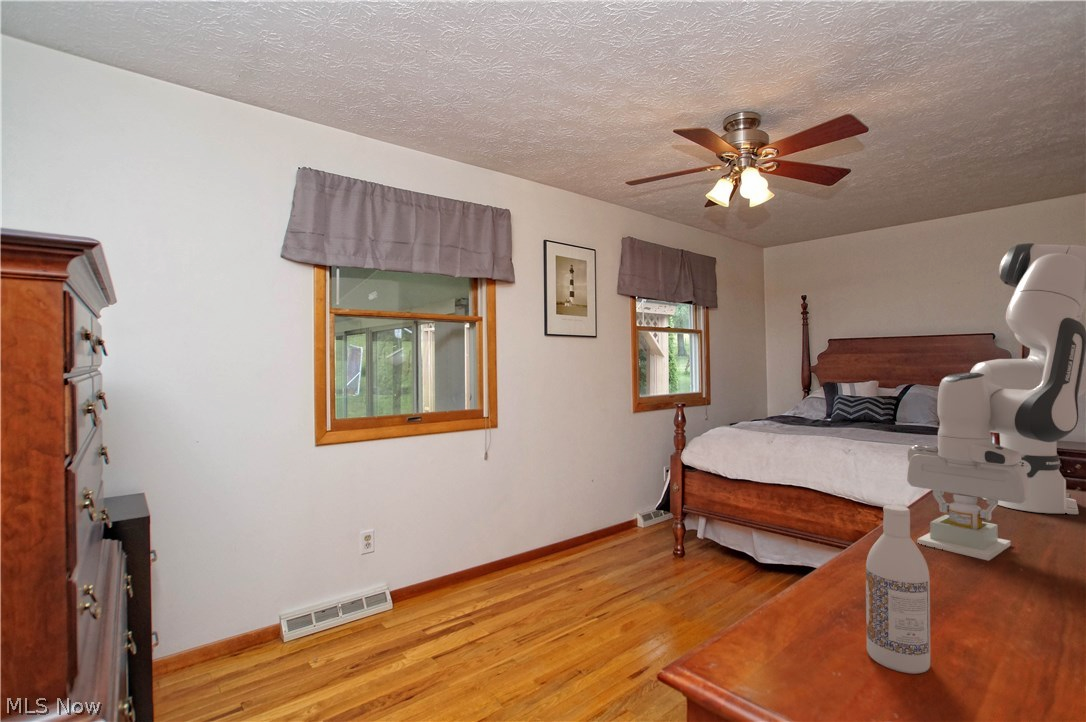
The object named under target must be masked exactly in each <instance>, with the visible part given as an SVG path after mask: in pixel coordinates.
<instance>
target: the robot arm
mask: <svg viewBox="0 0 1086 722" xmlns="http://www.w3.org/2000/svg"><path fill="white" fill-rule="evenodd" d="M998 269H999V270H998V271H999V278H1000V279H999V280H1001V282H1002V283H1004V285H1007V286H1009V287H1012V288H1015V289H1014V292H1013V294H1012V296H1011V299H1010V300H1009V303H1008V306H1007V308H1006V312H1005V322H1006V324H1007V326H1008V328H1009V329H1010V330H1011V331H1012V332H1013V334H1014V337H1015V339H1016V340H1017V342H1019V344H1021V345H1022V346H1024V347H1026V348H1028V349H1029V354H1028V356H1027V357H1026V358H997V359H991V360H985V361H981V362H977V363H976V364H975V365H973V366H972V367H971V370H970V371H969V372H962V373H961V372H959V373H953V374H948V375H947V376H946V375H945V377H943V378H942V379H941V381H940V383H939V385H938V386H939V388H938V392H937V411H936V413H937V416H938V420H939V428H938V429H937V446H930V445H929V446H926V445H921V444H920V445H919V444H917V445H914V446H912V447H910V448H909V449H908V450H907V460H908V463H909V464H908V469H907V477H906V478H907V479H906V480H907V483H908V485H910V486H911V487H913V488H914V487H915V488H919V489H920V488H921V489H927V490H931V491H932V496H933V498H934V499H935V501H937V503H938V504H939V505H938V508H939V509H938V510H939V512H941V513H946V514H949V505H950V504H951V503H947V502H946V500H945V498H944V497H943V495H944V494H945V492H946V493H950V494H953V493H956V494H962V495H968V496H975V497H977V498H982V499H983V500H984V501H985V502H986V504H987V505H988V507H987V508H986V509H983V508H981V509H982V510H980V515H981V516H980V519H982V521H983V520H984V521H989V522H990V521H991V520H992V512H993V511H994V509H995V508H997V506H1001V507H1005V508H1007V509H1008V508H1010V509H1014V510H1017V511H1018V510H1019V511H1024V512H1025V511H1026V512H1032V513H1040V514H1042V513H1043V514H1044V513H1045V514H1065V513H1067V514H1068V515H1079V508H1078V503H1077V500H1076V499H1074V498H1071V493H1070V492H1067V480H1066V478H1065V477H1064V476H1063V475H1062V473H1061V472H1060V468H1061V465H1060V464H1061V459H1060V455H1059V454H1058V453H1057V452H1058V451H1057V449H1058V447H1057V446H1058V445H1057V443H1058V441H1060V440H1062V439H1064V438H1066V437H1067V436H1068V435H1069V434H1071V433H1072V432H1073V431H1074V430H1075V428H1076V427H1077V425H1078V422H1079V403H1078V402H1079V401H1078V399H1079V398H1078V397H1080V396H1083V394H1085V393H1086V366H1085V365H1084V363H1085V356H1086V327H1085V326H1084V325H1083V323H1082V322H1080V320H1081V317H1082V315H1083V312H1084V309H1085V306H1086V245H1078V244H1077V245H1076V244H1071V245H1067V244H1035V243H1034V242H1033V243H1032V242H1030V243H1019V244H1016V245H1014V246H1012V247H1011V248H1010V249H1009V250H1008V251H1007V252H1006V253H1005V255H1004V256H1003V257H1002V259H1001V261H1000V264H999V267H998ZM991 433H995V434H999V444H996V443H993V442H992V435H991Z"/></svg>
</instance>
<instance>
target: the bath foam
mask: <svg viewBox="0 0 1086 722" xmlns="http://www.w3.org/2000/svg"><path fill="white" fill-rule="evenodd" d="M882 509H883V510H882V511H883V517H882V518H883V523H882V526H883V533H882V534H881V535H880V537H879V538H878V539H877V540H876V542H875V543H874V544H873V545H872V547H871V548H870V550H869V552H868V554H867V557H866V558H867V559H866V564H865V605H866V606H865V611H866V612H865V614H866V615H865V617H866V618H865V619H866V625H865V627H866V629H865V630H866V631H865V632H866V651H867V654H868V655H869V656H870V658H871V659H873V660H874V661H875V662H876V663H878V664H880V666H883V667H885V668H887V669H890V670H894V671H897V672H898V673H899V672H900V673H904V674H913V675H914V674H923V673H926V672H927V671H929V669H930V667H931V594H930V593H931V587H930V586H931V585H930V584H931V582H930V571H929V566H928V563H927V561H926V558H925V557H924V556H923V553H922V552H921V550H920V549H919V548H918V546H917V545H916V543H915V542H914V540H912V539H913V538H912V537H911V510H910V509H909V508H908V507H906V506H901V505H896V504H895V505H894V504H885V505H884V506H883V508H882Z"/></svg>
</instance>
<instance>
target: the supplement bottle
mask: <svg viewBox="0 0 1086 722" xmlns="http://www.w3.org/2000/svg"><path fill="white" fill-rule="evenodd" d="M952 500H953V502H951V503H949V504H950V505H949V513H948V515H949V525H954V526H959V527H964V528H969V529H974V530H979V529H981V528H982V522H983V519H980V516H981V515H980V510H982V509H983V508H981V507H980V506H979V505H977V503H978V502H979V501H978V497H975V496H968V495H962V494H956V493H952Z"/></svg>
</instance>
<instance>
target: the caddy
mask: <svg viewBox="0 0 1086 722" xmlns="http://www.w3.org/2000/svg"><path fill="white" fill-rule="evenodd" d="M916 541H917V543H919V544H918V545H921V544H922V546H925V545H926V546H925V547H931V548H934V547H935V548H934V549H939V550H942V549H943V551H947V552H951V553H955V554H960V555H963V556H967V557H972V558H977V559H980V560H984V561H991V560H992V559H994V558H995V557H996V556H997V555H999V554H1001V553H1003V551H1005V550H1006V549H1008V548H1009V547H1011V542H1012V541H1011V540H1010V539H1009V540H1008V539H1004V538H999V536H998V524H995V523H991V522H986V521H982V528H981V529H979V530H974V529H969V528H964V527H959V526H954V525H949V514H945V515H942V516H940V517H937V518H936V519H934V520H932V521H930V522H929V532H928V533H926V534H924V535H922V536H920V537H918V538H917V540H916ZM917 543H916V544H917Z"/></svg>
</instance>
